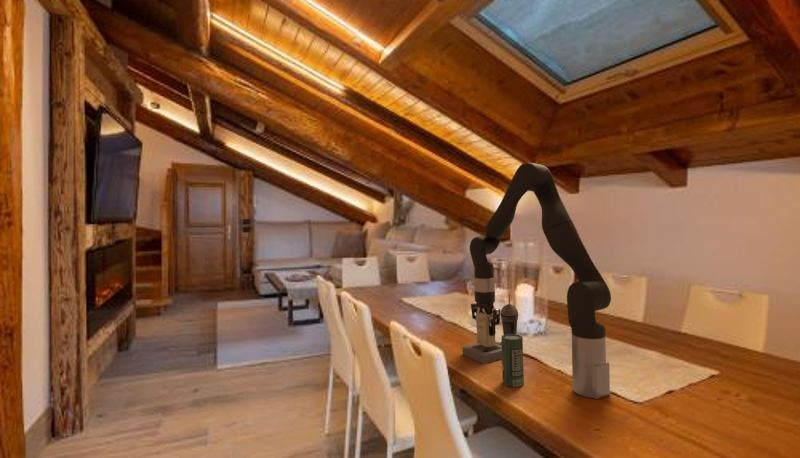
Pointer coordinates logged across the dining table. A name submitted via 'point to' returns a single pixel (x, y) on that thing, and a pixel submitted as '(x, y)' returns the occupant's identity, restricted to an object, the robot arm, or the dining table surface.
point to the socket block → (477, 352)
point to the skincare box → (484, 330)
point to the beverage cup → (509, 318)
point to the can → (512, 360)
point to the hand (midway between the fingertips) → (485, 333)
